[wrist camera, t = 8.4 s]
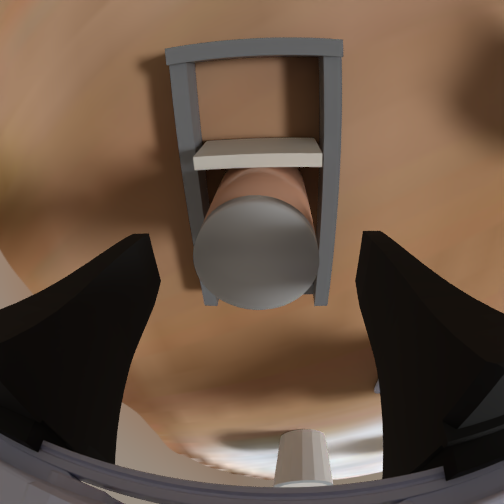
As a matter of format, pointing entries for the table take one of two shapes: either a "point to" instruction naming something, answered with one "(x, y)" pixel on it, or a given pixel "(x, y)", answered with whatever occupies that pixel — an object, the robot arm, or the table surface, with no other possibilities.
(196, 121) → the frame
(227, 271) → the jar
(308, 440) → the beige cylinder
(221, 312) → the table surface
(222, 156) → the pusher plate
